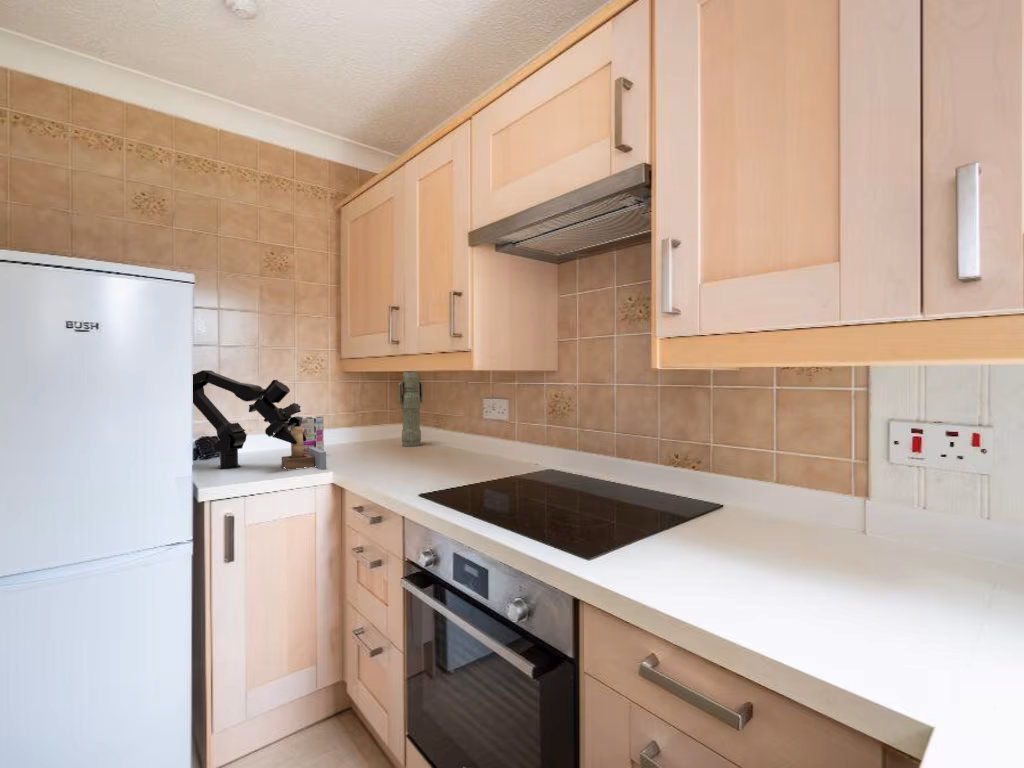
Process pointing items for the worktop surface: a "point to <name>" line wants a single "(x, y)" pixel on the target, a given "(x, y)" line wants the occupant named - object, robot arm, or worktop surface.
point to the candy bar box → (312, 433)
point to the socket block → (297, 462)
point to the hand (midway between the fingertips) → (301, 441)
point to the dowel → (297, 448)
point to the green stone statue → (411, 408)
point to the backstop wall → (318, 457)
